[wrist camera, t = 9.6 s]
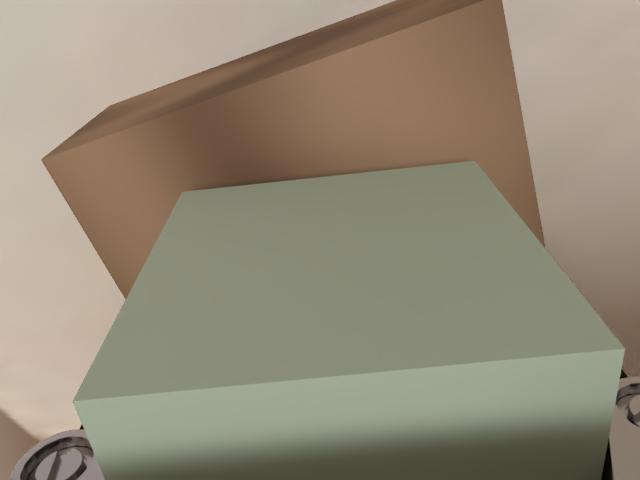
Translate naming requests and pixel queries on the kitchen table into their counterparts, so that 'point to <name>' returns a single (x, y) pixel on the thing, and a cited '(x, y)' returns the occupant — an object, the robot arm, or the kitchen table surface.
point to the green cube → (352, 340)
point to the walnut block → (305, 122)
